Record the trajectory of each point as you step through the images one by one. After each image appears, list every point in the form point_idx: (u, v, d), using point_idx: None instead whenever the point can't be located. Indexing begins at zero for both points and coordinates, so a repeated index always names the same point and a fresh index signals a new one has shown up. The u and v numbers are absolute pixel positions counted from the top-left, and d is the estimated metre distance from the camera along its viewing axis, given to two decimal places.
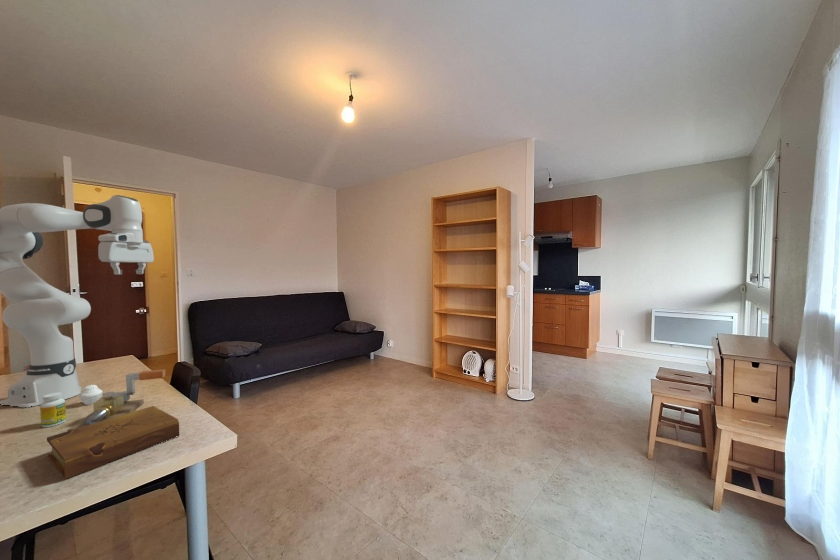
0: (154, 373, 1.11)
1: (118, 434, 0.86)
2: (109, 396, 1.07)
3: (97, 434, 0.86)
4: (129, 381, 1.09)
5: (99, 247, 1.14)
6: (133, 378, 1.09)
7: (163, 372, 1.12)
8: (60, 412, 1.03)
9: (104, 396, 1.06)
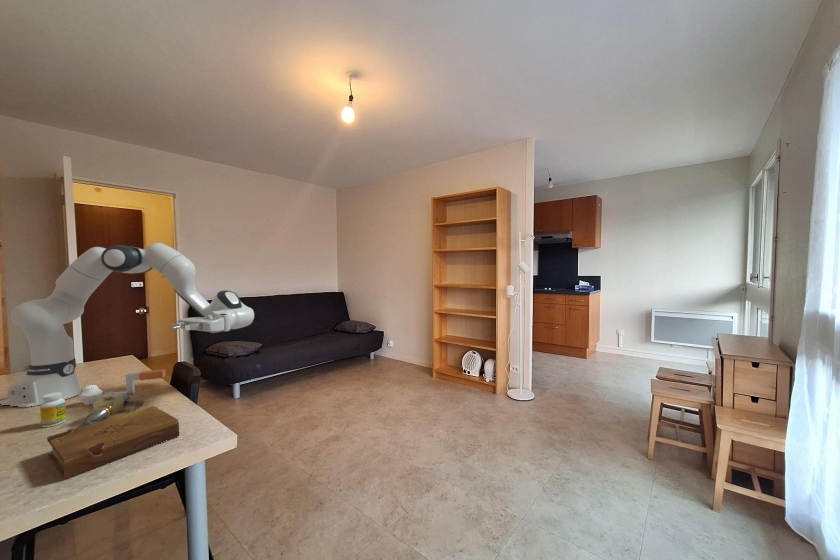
0: (154, 373, 1.11)
1: (118, 434, 0.86)
2: (109, 396, 1.07)
3: (97, 434, 0.86)
4: (129, 381, 1.09)
5: (220, 320, 1.23)
6: (133, 378, 1.09)
7: (163, 372, 1.12)
8: (60, 412, 1.03)
9: (104, 396, 1.06)
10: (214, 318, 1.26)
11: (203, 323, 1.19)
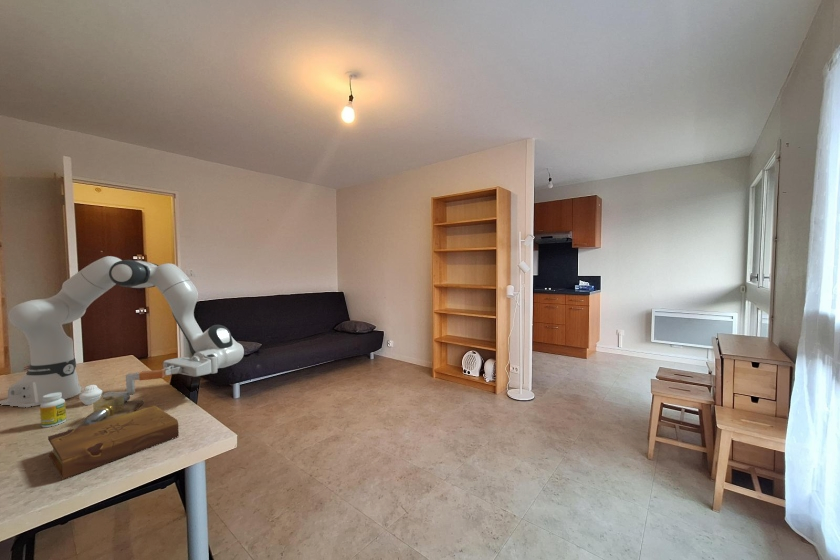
0: (154, 373, 1.10)
1: (117, 435, 0.86)
2: (109, 396, 1.07)
3: (97, 434, 0.86)
4: (129, 381, 1.09)
5: (207, 363, 1.19)
6: (133, 378, 1.09)
7: (163, 372, 1.12)
8: (60, 412, 1.03)
9: (104, 396, 1.06)
10: (201, 360, 1.22)
11: (189, 368, 1.15)
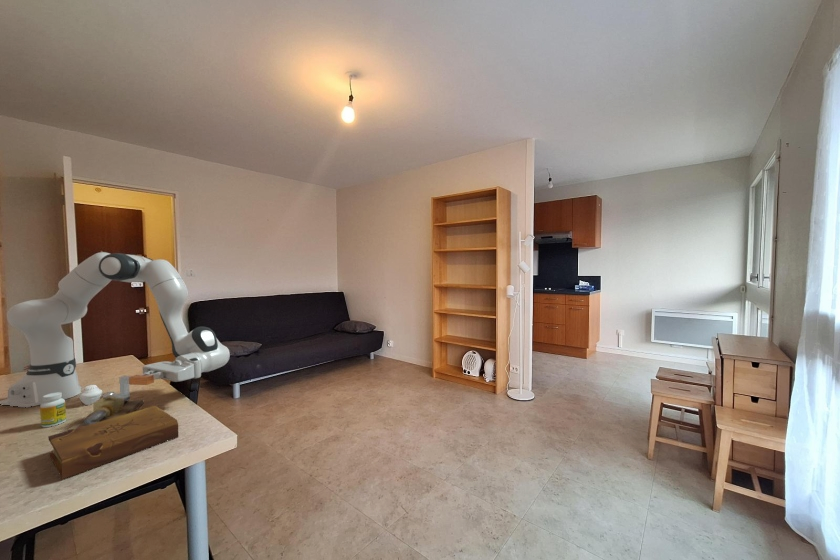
0: (140, 379, 1.05)
1: (117, 435, 0.86)
2: (107, 396, 1.06)
3: (97, 434, 0.86)
4: (122, 384, 1.06)
5: (190, 367, 1.13)
6: (124, 381, 1.06)
7: (149, 378, 1.06)
8: (60, 412, 1.03)
9: (103, 396, 1.06)
10: (183, 364, 1.16)
11: (170, 372, 1.09)
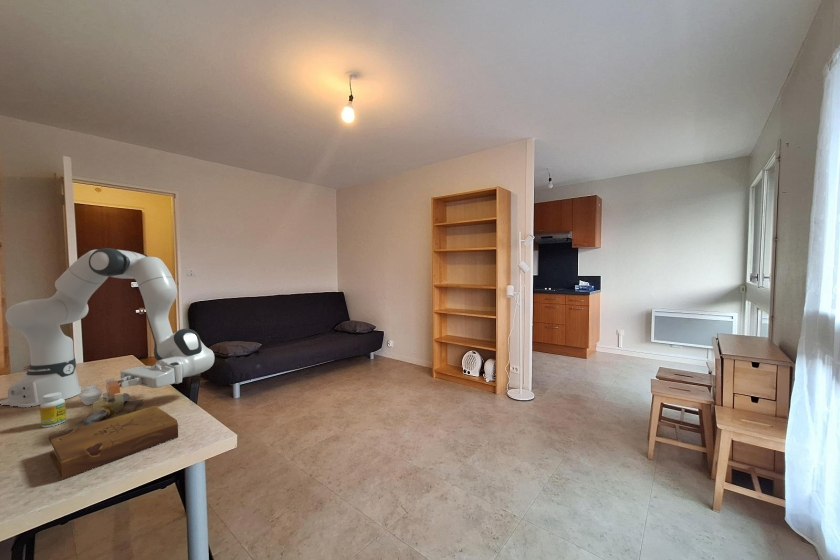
0: (108, 387, 0.98)
1: (117, 435, 0.86)
2: (104, 397, 1.06)
3: (96, 434, 0.86)
4: None
5: (169, 373, 1.07)
6: None
7: (113, 388, 0.97)
8: (60, 412, 1.03)
9: None
10: (163, 369, 1.10)
11: (148, 378, 1.04)
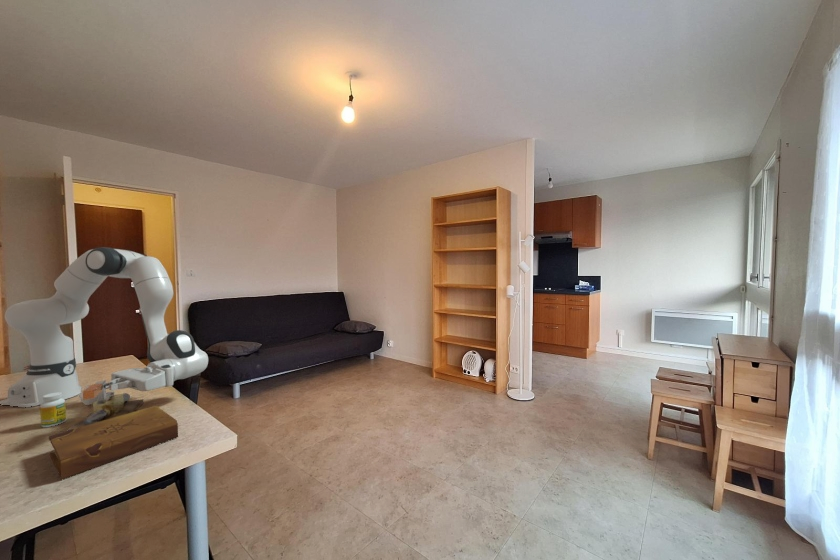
0: None
1: (117, 435, 0.86)
2: None
3: (96, 434, 0.86)
4: None
5: (160, 376, 1.05)
6: None
7: (87, 393, 0.94)
8: (60, 412, 1.03)
9: None
10: (154, 372, 1.08)
11: (137, 381, 1.01)
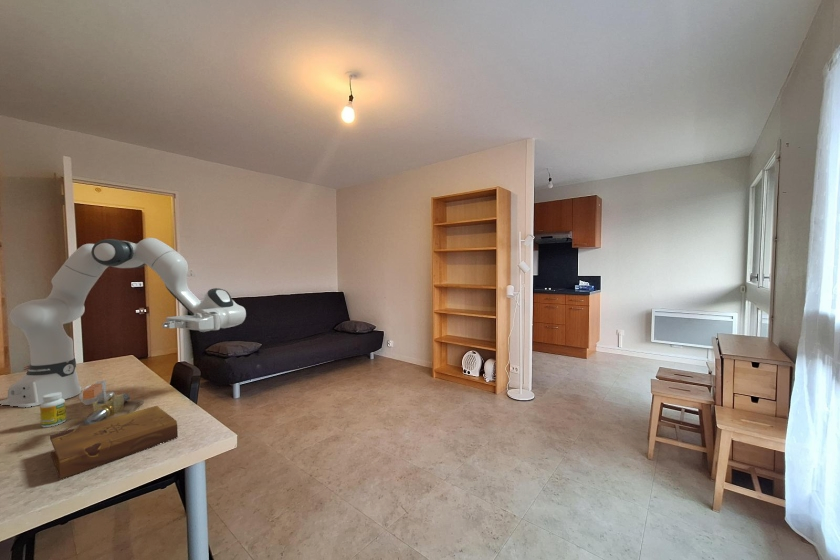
0: None
1: (116, 435, 0.86)
2: None
3: (96, 434, 0.86)
4: None
5: (210, 319, 1.19)
6: None
7: (87, 393, 0.94)
8: (60, 412, 1.03)
9: None
10: (203, 316, 1.22)
11: (191, 321, 1.16)
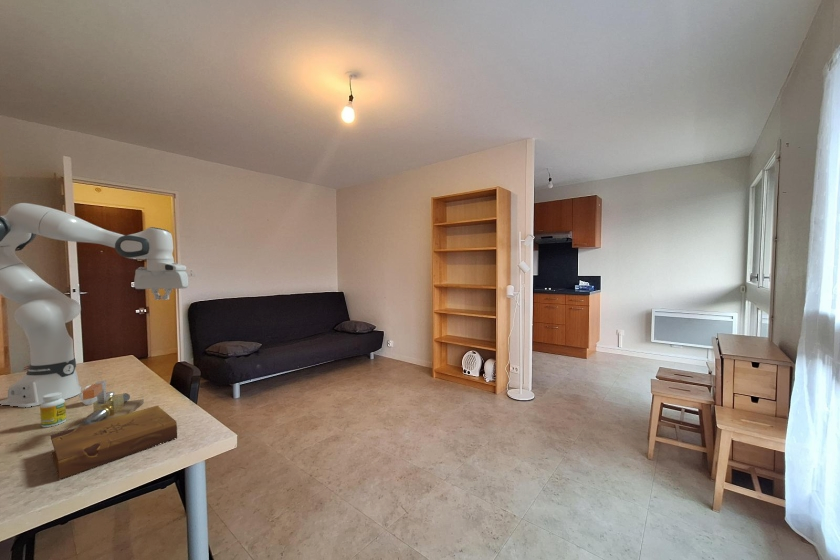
0: None
1: (116, 435, 0.86)
2: None
3: (96, 434, 0.86)
4: None
5: (181, 276, 1.32)
6: None
7: (87, 393, 0.94)
8: (60, 412, 1.03)
9: None
10: (168, 274, 1.32)
11: (176, 288, 1.33)
